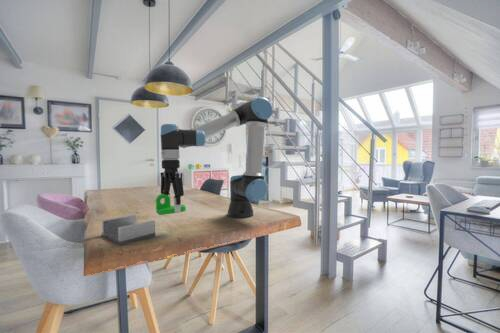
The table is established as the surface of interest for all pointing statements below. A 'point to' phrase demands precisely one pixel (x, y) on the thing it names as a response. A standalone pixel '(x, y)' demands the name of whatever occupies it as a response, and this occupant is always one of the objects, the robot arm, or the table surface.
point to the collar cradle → (127, 229)
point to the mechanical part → (166, 206)
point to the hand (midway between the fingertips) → (172, 210)
